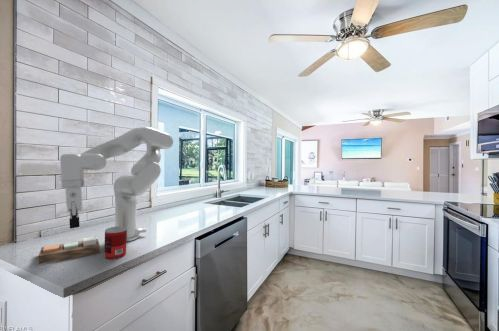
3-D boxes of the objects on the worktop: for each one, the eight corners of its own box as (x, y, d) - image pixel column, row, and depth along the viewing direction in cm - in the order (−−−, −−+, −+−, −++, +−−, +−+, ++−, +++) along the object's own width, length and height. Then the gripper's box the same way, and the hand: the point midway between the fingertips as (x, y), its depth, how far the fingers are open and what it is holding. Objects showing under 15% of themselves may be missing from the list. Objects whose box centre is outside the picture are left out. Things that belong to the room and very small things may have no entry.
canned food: (129, 251, 98) (130, 226, 98) (119, 259, 90) (120, 231, 90) (111, 251, 97) (112, 225, 97) (100, 259, 89) (100, 231, 89)
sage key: (78, 248, 97) (78, 241, 97) (78, 252, 94) (78, 244, 94) (64, 250, 94) (64, 243, 94) (63, 254, 91) (63, 247, 91)
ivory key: (95, 243, 101) (95, 236, 101) (96, 246, 97) (96, 239, 97) (82, 245, 98) (82, 238, 98) (83, 248, 95) (83, 241, 95)
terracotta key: (59, 251, 93) (59, 244, 93) (58, 255, 90) (58, 247, 90) (44, 254, 91) (44, 246, 91) (42, 258, 87) (43, 250, 87)
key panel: (97, 245, 104) (97, 238, 104) (99, 252, 96) (99, 245, 96) (41, 254, 93) (41, 247, 93) (38, 264, 84) (38, 256, 84)
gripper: (84, 184, 90) (86, 230, 91) (83, 181, 102) (85, 221, 103) (60, 186, 86) (62, 234, 87) (62, 182, 98) (63, 224, 99)
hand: (74, 227), depth 95 cm, fingers closed
